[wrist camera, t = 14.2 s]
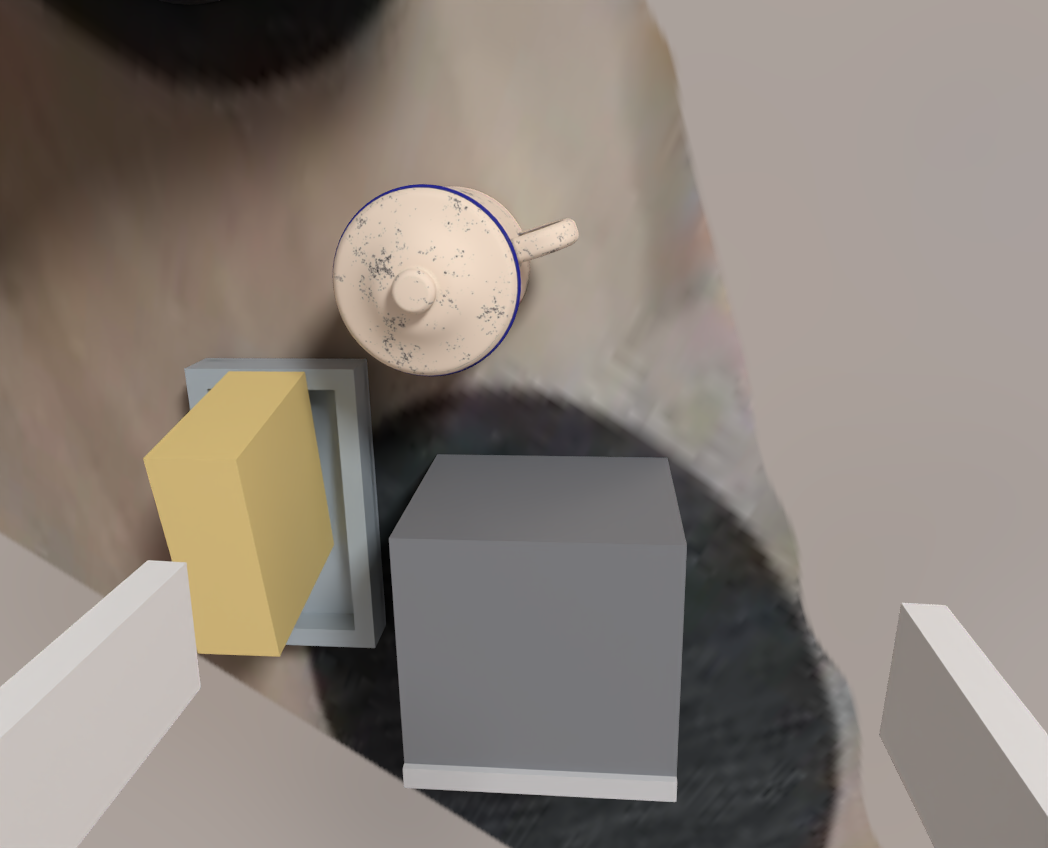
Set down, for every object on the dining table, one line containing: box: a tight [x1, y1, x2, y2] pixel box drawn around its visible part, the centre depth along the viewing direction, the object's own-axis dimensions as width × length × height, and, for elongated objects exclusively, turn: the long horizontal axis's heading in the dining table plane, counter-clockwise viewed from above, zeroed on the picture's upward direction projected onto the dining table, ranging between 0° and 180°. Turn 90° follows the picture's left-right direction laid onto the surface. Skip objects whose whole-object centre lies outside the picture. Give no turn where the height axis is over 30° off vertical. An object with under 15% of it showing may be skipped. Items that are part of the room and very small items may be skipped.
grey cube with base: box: [389, 454, 687, 802], centre depth 47 cm, size 14×14×13 cm
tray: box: [185, 358, 386, 648], centre depth 52 cm, size 18×10×3 cm, turn 1°
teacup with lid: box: [333, 184, 579, 376], centre depth 42 cm, size 12×9×12 cm
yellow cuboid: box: [143, 371, 334, 657], centre depth 46 cm, size 12×4×10 cm, turn 1°
